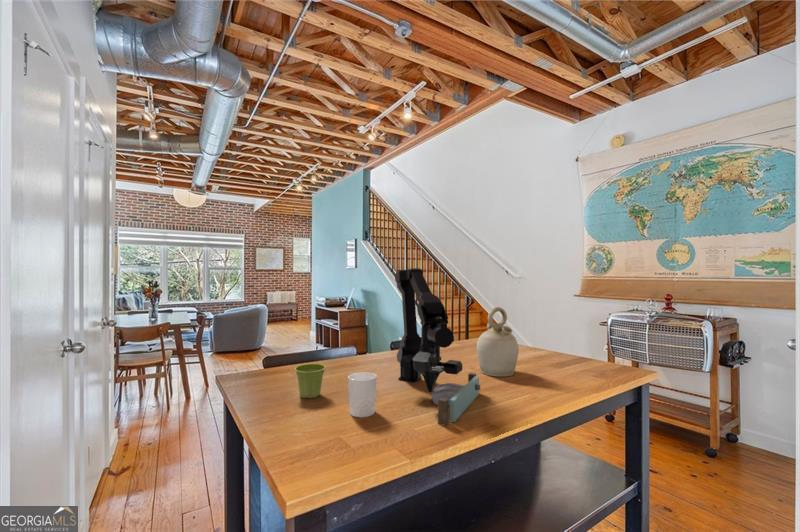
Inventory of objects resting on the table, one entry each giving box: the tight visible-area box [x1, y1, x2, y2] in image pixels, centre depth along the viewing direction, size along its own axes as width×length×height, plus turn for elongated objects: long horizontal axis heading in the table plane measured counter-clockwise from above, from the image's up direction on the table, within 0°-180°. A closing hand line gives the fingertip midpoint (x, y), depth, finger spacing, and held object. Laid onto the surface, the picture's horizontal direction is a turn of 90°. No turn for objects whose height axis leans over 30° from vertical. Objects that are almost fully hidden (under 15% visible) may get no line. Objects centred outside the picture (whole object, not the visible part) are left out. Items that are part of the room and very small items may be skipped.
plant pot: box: [294, 363, 327, 399], centre depth 113 cm, size 9×9×9 cm
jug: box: [476, 306, 520, 378], centre depth 139 cm, size 15×16×25 cm
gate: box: [449, 375, 481, 423], centre depth 103 cm, size 2×23×6 cm, turn 152°
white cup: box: [347, 371, 378, 418], centre depth 99 cm, size 8×8×10 cm
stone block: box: [431, 382, 466, 407], centre depth 110 cm, size 12×5×10 cm
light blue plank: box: [437, 372, 477, 426], centre depth 104 cm, size 2×28×6 cm, turn 153°
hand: (430, 392), depth 111 cm, fingers closed
